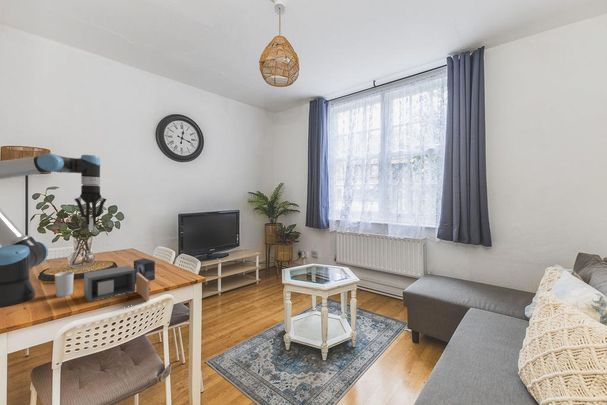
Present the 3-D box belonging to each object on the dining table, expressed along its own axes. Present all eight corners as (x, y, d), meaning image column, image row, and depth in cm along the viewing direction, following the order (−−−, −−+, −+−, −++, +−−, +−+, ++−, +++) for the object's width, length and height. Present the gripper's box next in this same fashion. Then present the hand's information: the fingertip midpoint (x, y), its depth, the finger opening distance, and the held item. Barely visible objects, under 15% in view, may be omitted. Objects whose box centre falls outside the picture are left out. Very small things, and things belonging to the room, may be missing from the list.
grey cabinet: (88, 302, 114) (88, 278, 114) (84, 295, 121) (84, 272, 120) (135, 291, 128) (135, 269, 127) (129, 286, 134) (129, 265, 134)
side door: (151, 299, 118) (151, 280, 118) (146, 301, 117) (146, 281, 116) (140, 289, 129) (141, 272, 129) (136, 290, 128) (136, 272, 127)
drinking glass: (74, 294, 121) (74, 274, 121) (54, 298, 117) (54, 276, 116) (73, 290, 126) (73, 270, 126) (54, 294, 122) (54, 273, 121)
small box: (132, 278, 145) (132, 260, 145) (144, 275, 151) (144, 257, 150) (143, 282, 140) (143, 263, 140) (155, 279, 146) (155, 260, 146)
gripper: (75, 184, 126) (75, 232, 127) (108, 185, 136) (107, 230, 137) (73, 184, 131) (73, 230, 132) (104, 185, 141) (104, 228, 142)
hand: (90, 230), depth 135 cm, fingers closed
